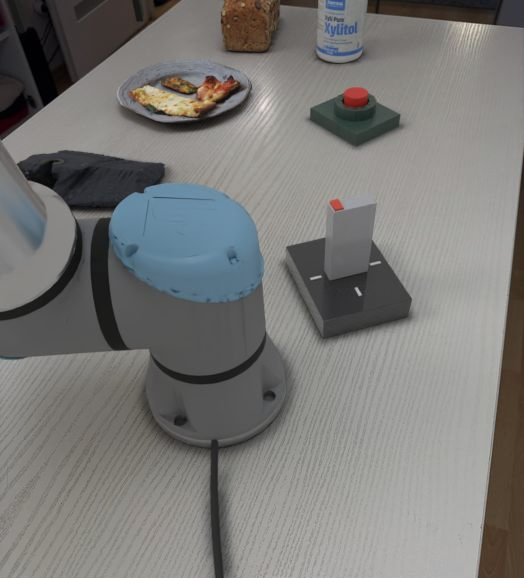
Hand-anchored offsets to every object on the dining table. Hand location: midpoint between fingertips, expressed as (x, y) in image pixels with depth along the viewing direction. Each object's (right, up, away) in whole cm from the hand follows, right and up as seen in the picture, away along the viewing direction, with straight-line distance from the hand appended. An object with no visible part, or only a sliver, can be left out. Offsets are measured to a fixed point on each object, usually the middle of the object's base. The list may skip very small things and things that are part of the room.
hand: (82, 23), depth 64 cm
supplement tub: (+37, +23, +50) cm, 66 cm away
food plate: (+7, +10, +40) cm, 42 cm away
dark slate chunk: (-6, -12, +23) cm, 27 cm away
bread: (+19, +32, +58) cm, 69 cm away
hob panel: (+32, -31, +6) cm, 44 cm away
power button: (+37, +4, +29) cm, 47 cm away
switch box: (+37, +2, +32) cm, 49 cm away
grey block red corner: (+31, -29, +3) cm, 43 cm away
